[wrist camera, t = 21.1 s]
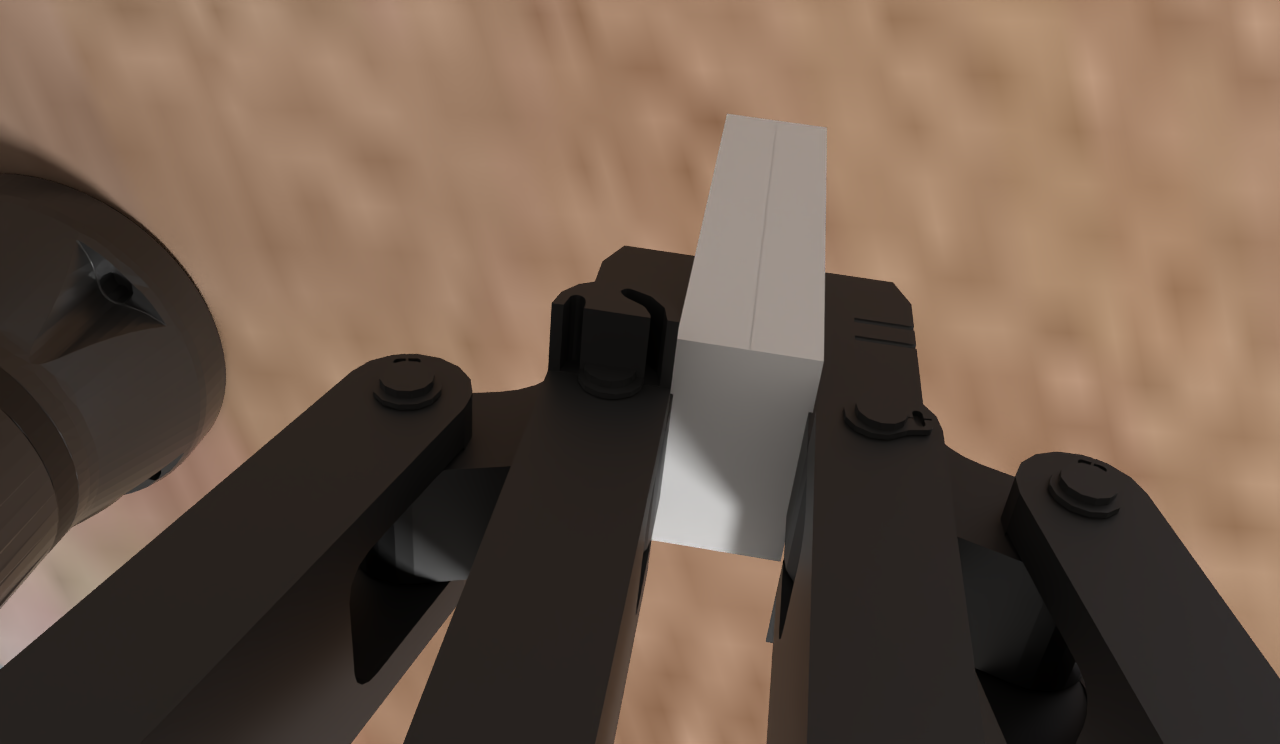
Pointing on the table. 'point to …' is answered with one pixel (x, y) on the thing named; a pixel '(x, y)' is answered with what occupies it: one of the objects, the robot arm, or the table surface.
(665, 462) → the robot arm
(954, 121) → the table surface
